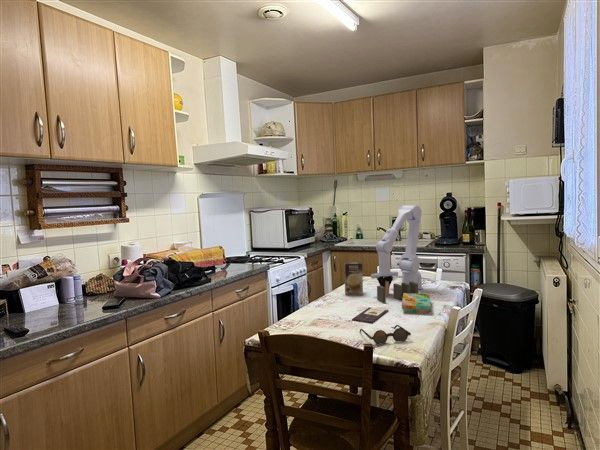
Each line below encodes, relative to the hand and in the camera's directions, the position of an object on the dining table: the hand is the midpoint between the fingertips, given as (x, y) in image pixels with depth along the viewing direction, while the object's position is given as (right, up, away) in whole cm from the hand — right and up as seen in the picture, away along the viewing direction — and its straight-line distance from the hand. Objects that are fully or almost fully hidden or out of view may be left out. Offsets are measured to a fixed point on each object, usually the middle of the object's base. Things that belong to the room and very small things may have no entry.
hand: (385, 291), depth 197 cm
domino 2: (0, -2, 0) cm, 2 cm away
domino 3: (+4, -2, -9) cm, 10 cm away
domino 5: (+13, -2, -6) cm, 14 cm away
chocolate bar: (-13, -5, -33) cm, 36 cm away
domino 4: (+8, -2, -8) cm, 12 cm away
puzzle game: (+9, -4, -23) cm, 25 cm away
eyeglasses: (-13, -7, -56) cm, 57 cm away
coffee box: (-15, -2, +5) cm, 16 cm away
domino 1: (-4, -3, -12) cm, 13 cm away
